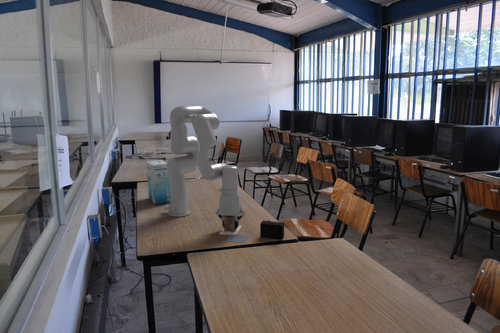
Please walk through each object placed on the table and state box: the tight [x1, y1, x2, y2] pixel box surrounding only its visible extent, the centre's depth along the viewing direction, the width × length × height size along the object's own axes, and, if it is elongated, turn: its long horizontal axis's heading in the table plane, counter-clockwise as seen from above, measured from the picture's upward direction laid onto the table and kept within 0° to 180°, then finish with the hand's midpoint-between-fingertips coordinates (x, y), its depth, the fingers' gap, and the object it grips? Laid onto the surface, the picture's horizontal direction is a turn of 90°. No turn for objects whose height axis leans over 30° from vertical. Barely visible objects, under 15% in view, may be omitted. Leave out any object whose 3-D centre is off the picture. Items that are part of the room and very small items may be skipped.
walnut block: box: [224, 216, 235, 232], centre depth 181 cm, size 5×5×7 cm
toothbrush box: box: [145, 159, 170, 206], centre depth 231 cm, size 18×10×24 cm, turn 27°
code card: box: [218, 225, 242, 236], centre depth 182 cm, size 8×13×1 cm, turn 169°
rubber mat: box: [225, 234, 250, 244], centre depth 171 cm, size 9×9×1 cm
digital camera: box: [259, 220, 285, 241], centre depth 173 cm, size 10×5×7 cm, turn 73°
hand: (230, 227), depth 181 cm, fingers closed on walnut block, 5 cm apart
